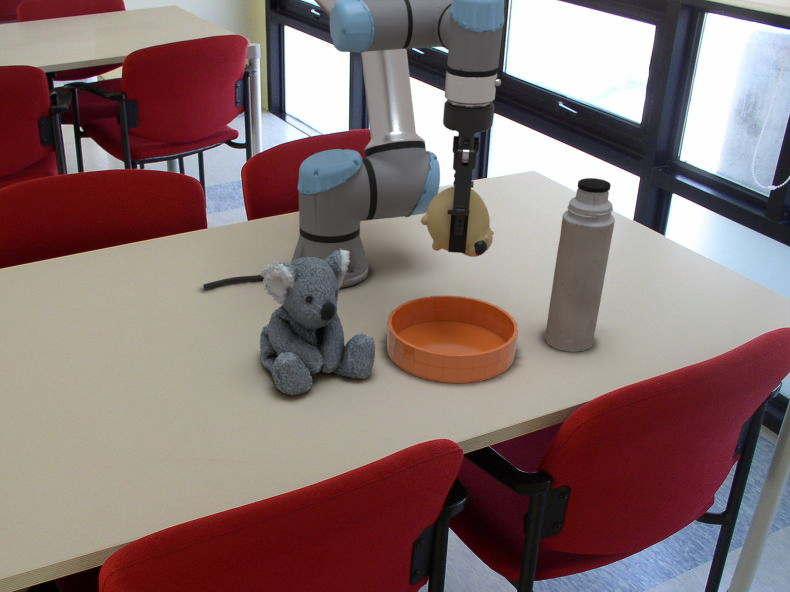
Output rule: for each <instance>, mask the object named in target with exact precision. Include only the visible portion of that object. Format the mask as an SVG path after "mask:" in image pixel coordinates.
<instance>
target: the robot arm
mask: <svg viewBox="0 0 790 592" xmlns="http://www.w3.org/2000/svg"><path fill="white" fill-rule="evenodd" d="M313 1H314V2H315V3H316V5H318V7H319V8H321V10H322V11H323V12H324V13H325V14H326V16H328V17H329V33H330V34H329V35H330V38H331V40H332V44H333V47H334V48H335V49H336V51H338V52H342V53H354V54H360V58H361V66H362V74H363V80H364V81H363V84H364V91H365V100H366V108H367V115H368V116H367V118H368V125H369V133H370V134H369V135H370V140H369V142H368V143H367V145H366V146H365V148H364V157H362V155H361V154H360V152H358V151H357V150H354V149H348V148H345V149H342V148H335V149H334V148H333V149H328V150H327V149H326V150H323V151H319V152H316V153H314V154H312V155H310V156H308V157H307V158H306V159H304V160H303V161H302V163H301V164H300V166H299V169H298V182H297V190H298V191H297V192H298V224H299V225H298V227H299V231H298V232H299V235H298V238H297V239H298V240H297V242H296V245H295V248H294V252H293V254H292V258H291V262H290V264H291V263H292V262H293V261H295V260H297V259H299V258H303V257H304V258H307V257H310V258H311V257H317V258H318V259H322V260H325V258H327V256H330V255H331V254H332V253H333V252H334V251H336V250H337V251H338V250H340V248H341V250H346V251H349V252H350V254H349V256H350V258H349V261H350V262H349V265H348V266H347V268H348V270H347V271H346V274H345V276H344V278H343V283H342V286H341V287H340V289H343V288H344V289H345V288H348V287H352V286H355V285H358V284H360V283H362V282H363V281H364V280H366V279H367V277H368V276H369V261H368V258H367V253H366V251H365V248H364V245H363V242H362V239H361V222H364V221H374V220H383V219H384V220H385V219H393V218H395V219H396V218H403V217H405V218H410V217H412V216H418V215H423V214H424V215H425V214H426V213H427V209H428V206H429V204H430V202H431V200H432V199H433V198H434V197H435V196H436V195H437V194H438V193H439V190H440V183H441V168H440V163H439V160H438V157H437V155H436V154H435V153H434V152H432V151H431V150H427V148H426V140H425V139H424V138H422V137H421V136H420V135H419V134H418V133H417V129H416V121H415V114H414V105H413V96H412V85H411V77H410V68H409V60H408V59H409V58H408V51H407V50H411V49H425V48H444V49H446V50H447V64H446V65H447V66H446V71H445V83H444V98H445V99H446V101H445V102H443V103H444V104H443V114H442V115H443V118H442V125H443V126H444V128H445V129H448V130H449V131H452V132H454V131H455V132H457V134H458V135H453V140H452V154H453V159H452V160H453V161H452V169H453V171H454V174H453V179H454V180H453V187H454V200H453V208H452V210H448V213H447V214H451V223H450V235H449V247H448V251H447V252H448V253H456V254H457V253H458V254H462V253H465V251H466V240H467V230H468V219H469V214H470V210H469V204H470V193H471V189H473V188H474V185H475V183H474V180H473V172H474V171H475V170H476V166H477V165H476V164H477V155H478V153H479V148H480V137H479V136H475V134H477V133H483V132H486V131H489V130H490V129H491V128H492V127H493V124H494V116H495V115H494V114H495V104H494V102H493V101H494V100H495V99H496V90H497V88H496V87H499V86H500V85H501V84H502V81H501V80H502V79H500V78H498V73H499V66H500V65H499V64H500V55H501V47H502V39H503V31H504V25H505V0H313ZM263 280H264V277H262V276H261V275H260V274H256V275H255V274H254V275H242V276H240V275H239V276H234V277H227V278H223V279H218V280H215V281H212V282H207V283H203V284H202V286H203V289H204V290H208V289H212V288H215V287H221V286H224V285H228V284H229V285H230V284H233V283H234V284H235V283H239V282H240V283H241V282H253V281H254V282H255V281H263Z"/></svg>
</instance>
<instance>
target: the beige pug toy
mask: <svg viewBox="0 0 790 592" xmlns="http://www.w3.org/2000/svg"><path fill="white" fill-rule="evenodd" d="M453 200H454V186H450V187H447V188H444V189H443V190H441V191H440V192H438V194H437V195H436V196H435V197H434V198H433V199H432V200H431V202H430V204H429V206H428V209H427V212H426V213H424V215H423V216H421V218H420V224H422V225H423V226H426V228H427V232H428V234H429V236H430V238H431V239H432V241H433V242H432V244H431V248H432V250H433V251H436V252H438V251H440V250H445V251H447V252H448V247H449V235H450V223H451V214H447V213H448V210H452V208H453ZM469 210H470V214H469V219H468V230H467V240H466V251H465V253H461V254H462V255H464V256H466V257H471V258H476V257H479V256H482V255H483V254H485V253H486V252H487V251H488V250H489V249H490V248H491V246H492V243H493V239H494V236H493V235H494V234H495V232H494V231H493V230H492V229H491V226H490V222H491V221H490V214H489V210H488V207H487V205H486V204H485V202H484V199H483V198H482V197H481V196H480V194H478V192H477V191H475V190H474V189H473V188H471V193H470V204H469Z"/></svg>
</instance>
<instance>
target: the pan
mask: <svg viewBox="0 0 790 592" xmlns="http://www.w3.org/2000/svg"><path fill="white" fill-rule="evenodd" d="M386 328H387V329H386V351H387V355H388V357H389V359H390V360H391V361H392V363H393V364H395V365H396V366H397V367H398V368H400V369H401V370H403V371H405V372H406V373H408V374H410V375H412V376H415V377H417V378H420V379H425V380H427V381H428V380H429V381H432V382H439V383H448V384H468V383H469V384H470V383H476V382H477V383H478V382H482V381H487V380H490V379H493V378H495V377H498V376H500V375H501V374H503V373H504V372H506V371H508V369H509V368H510V367H512V365H513V363H514V360H515V357H516V352H517V351H516V350H517V343H518V336H519V327H518V323H517V322H516V320H515V318H514V317H513V316H512V314H510V313H509V312H507V311H506V310H505V309H503V308H502V307H500V306H498V305H495V304H493V303H491V302H488V301H484V300H481V299H478V298H474V297H469V296H468V297H466V296H462V295H461V296H460V295H445V294H444V295H430V296H424V297H418V298H415V299H411V300H409V301H406V302H404V303H401V304H400V305H398V306H396V308H394V309H393V310H392V311H391V313H390V314H389V316H388V319H387V327H386Z"/></svg>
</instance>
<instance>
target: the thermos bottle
mask: <svg viewBox="0 0 790 592" xmlns="http://www.w3.org/2000/svg"><path fill="white" fill-rule="evenodd" d="M611 186H612V184H611V183H610V182H609V181H607V180H605V179H601V178H595V177H587V178H581V179H579V180H578V182H577V188H576V189H577V190H576V194H575V196H574V197H572V198H571V199H569V201H568V206H567V210H565V211H563V214H562V218H561V223H560V224H561V226H560V235H559V240H558V247H557V251H556V252H557V253H556V259H555V264H554V265H555V266H554V272H553V279H552V287H551V294H550V301H549V306H548V314H547V320H546V327H545V335H544V339H545V340H544V341H545V342H546V343H547V345H548V346H550V347H552V348H554V349H555V350H556V349H557V350H560V351H563V352H568V353H569V352H570V353H577V352H584V351H588V350H589V349H590V348H592V346H593V344H594V340H595V335H596V334H595V333H596V329H597V322H598V317H599V312H600V306H601V299H602V294H603V289H604V283H605V277H606V273H607V266H608V260H609V255H610V249H611V244H612V238H613V231H614V226H615V222H616V220H615V219H616V218H615V216H613V214H612V213H613V211H614V208H613V207H614V206H613V203H612V202H611V201H610V200H609V195H610V192H609V191H610V190H611Z"/></svg>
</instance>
